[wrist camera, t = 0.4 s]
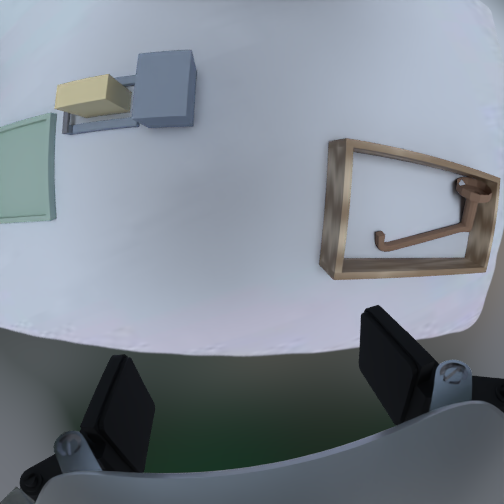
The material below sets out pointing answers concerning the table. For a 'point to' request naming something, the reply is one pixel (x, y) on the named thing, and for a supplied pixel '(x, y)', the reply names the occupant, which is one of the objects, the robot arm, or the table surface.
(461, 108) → the table surface
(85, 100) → the block
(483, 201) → the toilet paper hanger
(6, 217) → the tray
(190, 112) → the dispenser
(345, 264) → the frame
